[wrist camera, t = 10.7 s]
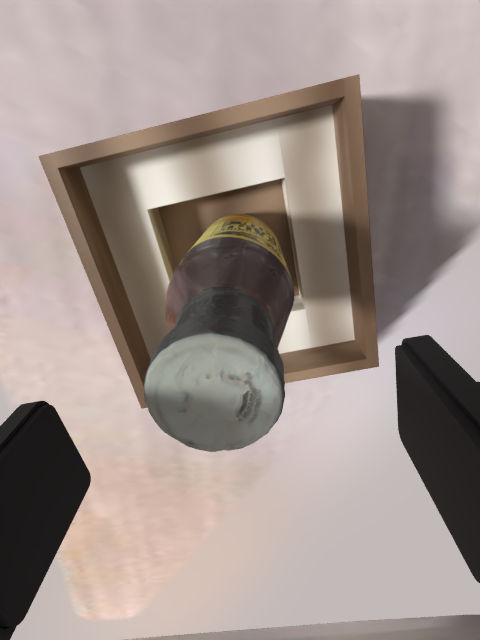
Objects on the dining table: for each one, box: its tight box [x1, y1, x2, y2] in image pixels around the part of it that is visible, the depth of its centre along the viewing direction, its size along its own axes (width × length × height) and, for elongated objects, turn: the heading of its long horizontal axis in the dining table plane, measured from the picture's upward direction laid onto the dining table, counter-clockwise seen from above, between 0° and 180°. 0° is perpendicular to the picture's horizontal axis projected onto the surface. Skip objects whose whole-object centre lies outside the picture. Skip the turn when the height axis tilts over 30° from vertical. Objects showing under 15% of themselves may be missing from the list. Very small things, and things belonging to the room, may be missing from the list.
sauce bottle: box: [144, 214, 294, 452], centre depth 19 cm, size 6×6×20 cm
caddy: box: [39, 75, 379, 408], centre depth 26 cm, size 18×18×7 cm
